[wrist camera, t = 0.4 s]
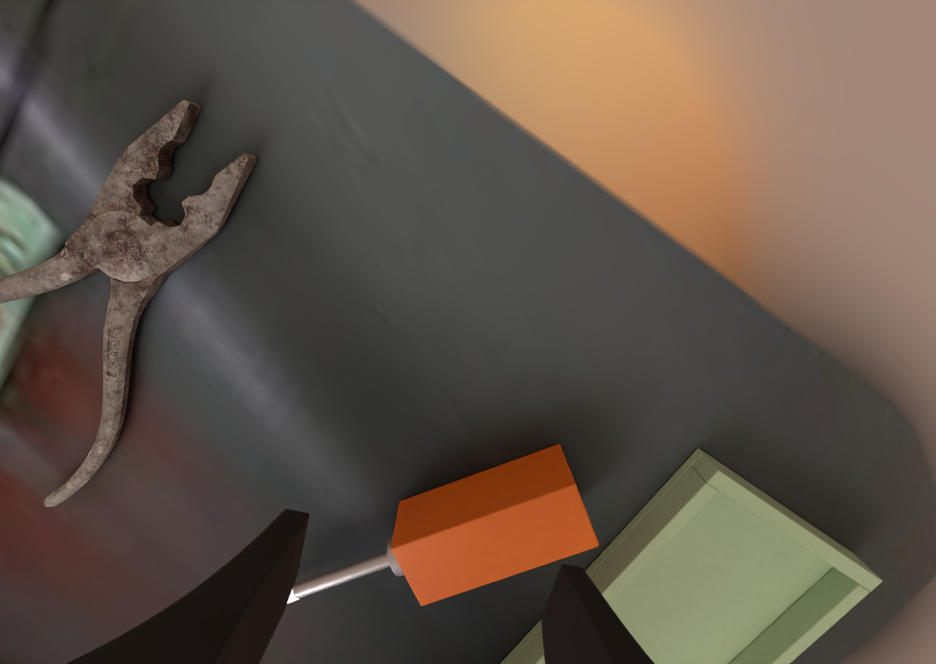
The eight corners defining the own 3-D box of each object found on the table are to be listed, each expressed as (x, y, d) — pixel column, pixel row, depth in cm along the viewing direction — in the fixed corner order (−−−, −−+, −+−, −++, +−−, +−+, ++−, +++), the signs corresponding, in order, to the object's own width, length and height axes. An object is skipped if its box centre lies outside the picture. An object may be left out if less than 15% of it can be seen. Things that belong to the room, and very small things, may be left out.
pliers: (-145, 423, 21) (3, -17, 17) (-122, 414, 22) (24, -7, 18) (70, 522, 23) (258, 147, 18) (84, 510, 24) (267, 149, 19)
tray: (615, 769, 30) (626, 809, 28) (469, 696, 28) (470, 734, 26) (851, 552, 26) (883, 581, 24) (697, 447, 24) (719, 470, 22)
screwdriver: (559, 443, 23) (576, 484, 20) (581, 498, 24) (600, 546, 21) (277, 544, 25) (250, 598, 22) (308, 593, 26) (286, 652, 22)
